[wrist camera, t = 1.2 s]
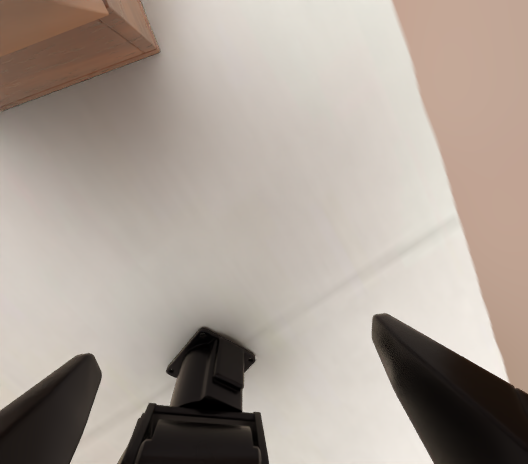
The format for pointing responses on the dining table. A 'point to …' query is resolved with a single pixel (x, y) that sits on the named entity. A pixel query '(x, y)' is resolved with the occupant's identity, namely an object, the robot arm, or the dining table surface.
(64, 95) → the dining table surface
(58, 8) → the bin lid
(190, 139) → the dining table surface
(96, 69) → the bin
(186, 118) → the dining table surface
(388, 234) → the dining table surface
